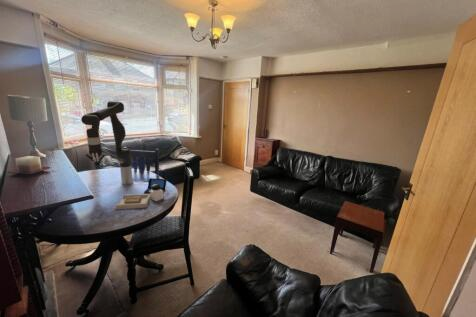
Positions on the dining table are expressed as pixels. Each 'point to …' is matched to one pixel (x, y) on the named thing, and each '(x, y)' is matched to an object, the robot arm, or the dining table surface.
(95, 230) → the dining table surface
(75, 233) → the dining table surface
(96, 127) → the robot arm
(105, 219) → the dining table surface
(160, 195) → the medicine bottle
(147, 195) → the tray
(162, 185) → the handheld game console
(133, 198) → the slab
